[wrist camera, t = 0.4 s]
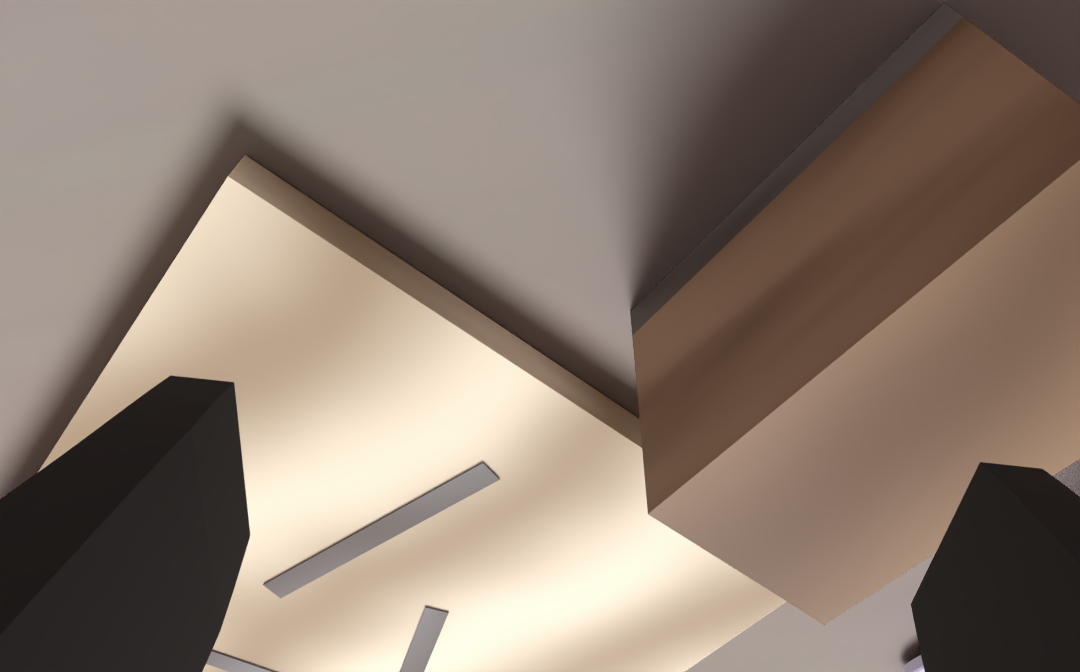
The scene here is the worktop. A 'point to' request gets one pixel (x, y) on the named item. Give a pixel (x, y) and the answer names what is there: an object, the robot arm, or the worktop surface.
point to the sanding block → (873, 327)
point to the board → (411, 466)
